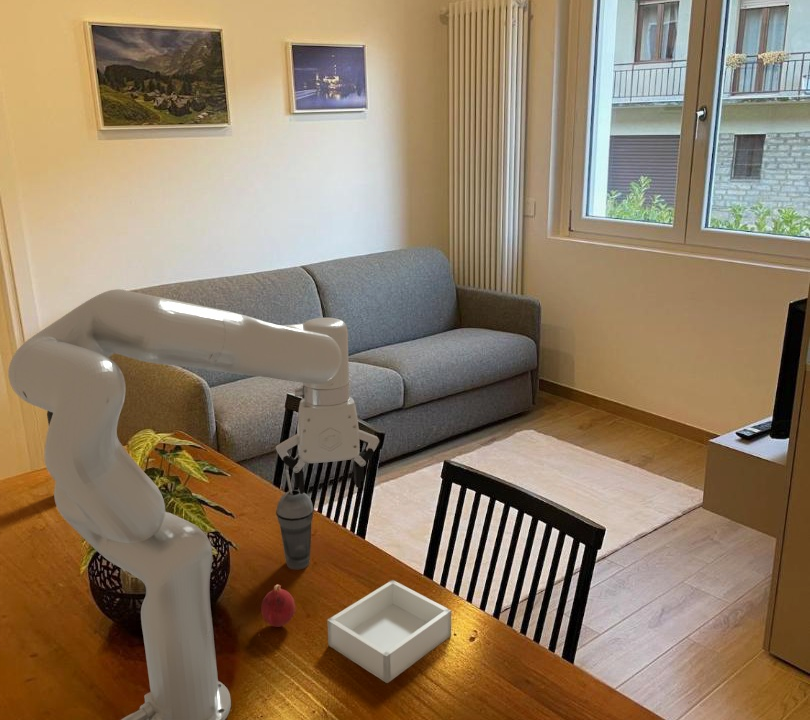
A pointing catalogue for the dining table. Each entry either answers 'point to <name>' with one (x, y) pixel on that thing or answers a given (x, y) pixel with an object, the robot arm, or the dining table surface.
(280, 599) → the onion
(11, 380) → the robot arm
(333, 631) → the bin
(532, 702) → the dining table surface
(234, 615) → the dining table surface
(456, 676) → the dining table surface
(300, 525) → the beverage cup
